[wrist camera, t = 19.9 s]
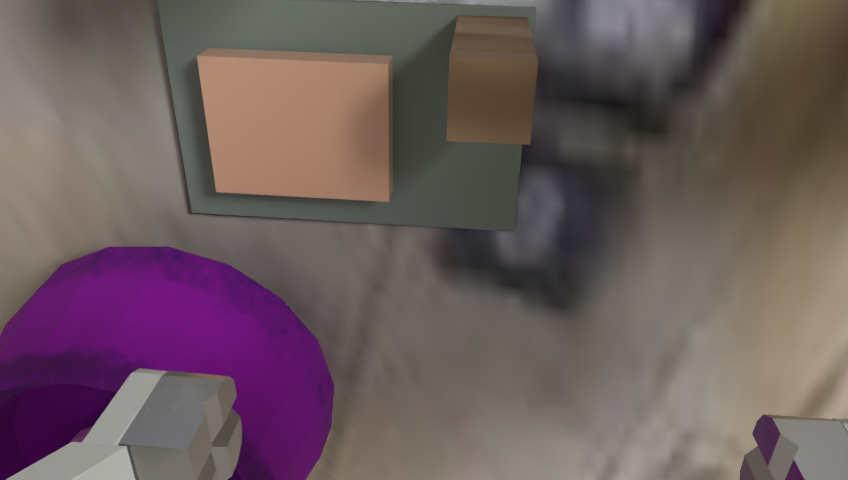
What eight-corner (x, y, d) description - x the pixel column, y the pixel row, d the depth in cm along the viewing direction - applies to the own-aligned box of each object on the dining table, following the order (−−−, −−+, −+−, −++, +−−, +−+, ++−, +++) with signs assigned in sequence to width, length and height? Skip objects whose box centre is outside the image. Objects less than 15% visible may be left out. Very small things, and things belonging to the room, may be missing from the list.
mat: (534, 7, 31) (535, 9, 31) (513, 226, 37) (513, 231, 36) (161, -7, 32) (155, -5, 32) (195, 208, 38) (191, 212, 38)
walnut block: (521, 85, 33) (530, 144, 26) (455, 82, 33) (446, 141, 26) (527, 17, 31) (538, 60, 24) (458, 14, 31) (449, 57, 24)
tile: (388, 64, 31) (196, 55, 31) (389, 201, 34) (216, 192, 35) (393, 54, 32) (211, 46, 33) (393, 186, 36) (228, 177, 36)
